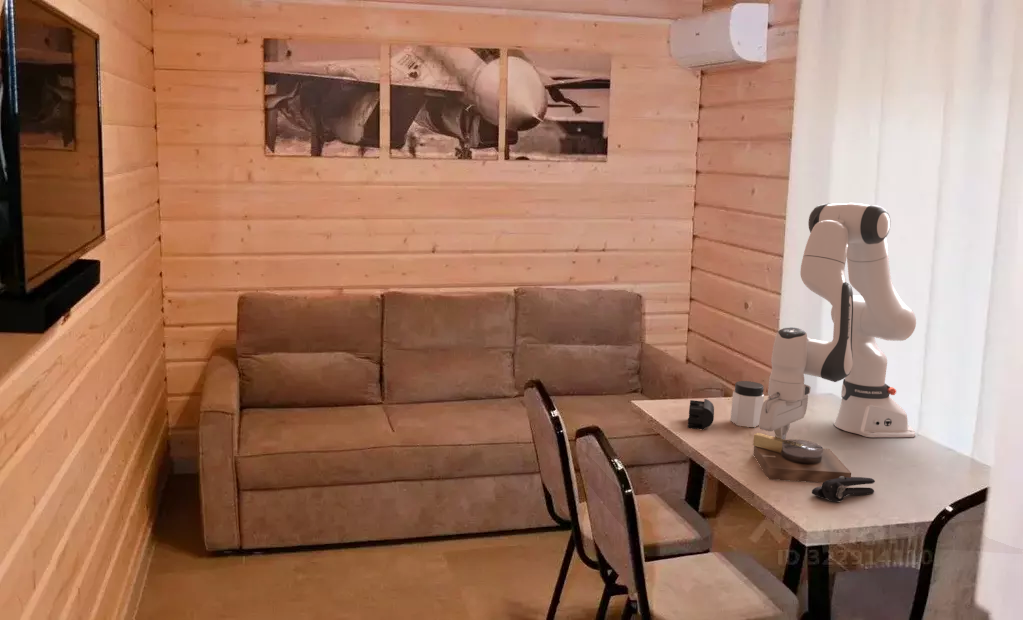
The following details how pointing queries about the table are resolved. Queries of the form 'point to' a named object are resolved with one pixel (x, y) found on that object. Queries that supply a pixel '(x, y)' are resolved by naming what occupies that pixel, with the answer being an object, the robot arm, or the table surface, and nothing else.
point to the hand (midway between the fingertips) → (780, 440)
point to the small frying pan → (790, 448)
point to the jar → (747, 403)
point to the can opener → (842, 488)
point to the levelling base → (800, 467)
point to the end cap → (700, 414)
